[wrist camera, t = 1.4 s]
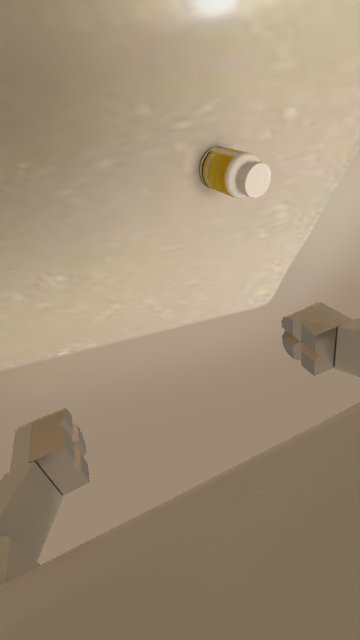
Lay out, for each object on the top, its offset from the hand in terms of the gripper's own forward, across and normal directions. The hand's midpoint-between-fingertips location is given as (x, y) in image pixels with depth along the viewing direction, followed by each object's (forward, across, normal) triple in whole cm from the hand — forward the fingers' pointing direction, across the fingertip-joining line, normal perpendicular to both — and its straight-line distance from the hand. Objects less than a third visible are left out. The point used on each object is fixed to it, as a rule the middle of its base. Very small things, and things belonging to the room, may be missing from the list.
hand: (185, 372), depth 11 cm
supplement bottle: (+37, -19, -1) cm, 41 cm away
